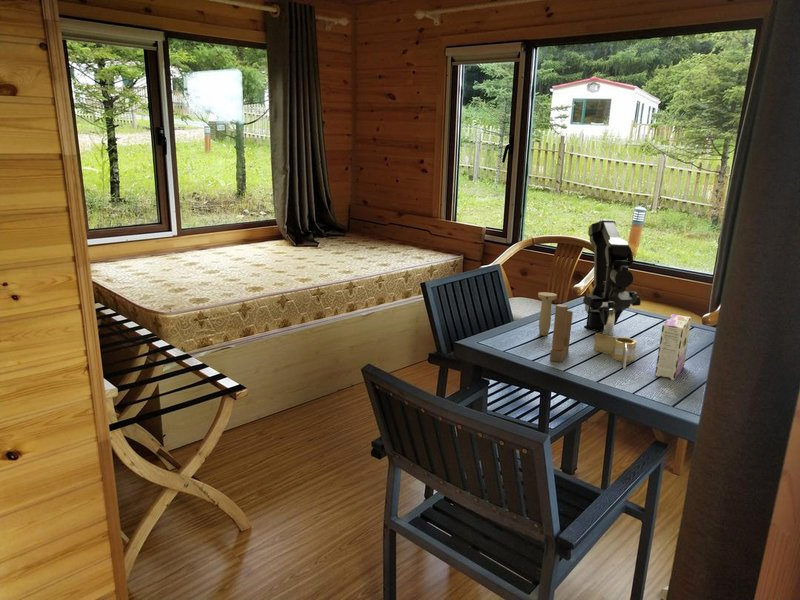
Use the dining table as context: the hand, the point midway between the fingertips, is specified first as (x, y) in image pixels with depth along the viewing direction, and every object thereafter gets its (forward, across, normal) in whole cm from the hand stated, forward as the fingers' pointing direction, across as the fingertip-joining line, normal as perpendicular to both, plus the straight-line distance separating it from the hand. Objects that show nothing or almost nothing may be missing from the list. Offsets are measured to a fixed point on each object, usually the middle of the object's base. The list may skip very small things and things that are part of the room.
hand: (609, 324), depth 207 cm
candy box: (+7, +5, -27) cm, 28 cm away
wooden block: (+7, -23, -10) cm, 26 cm away
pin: (+5, 0, 0) cm, 5 cm away
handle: (+7, -18, +12) cm, 22 cm away
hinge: (+7, -7, -14) cm, 17 cm away
